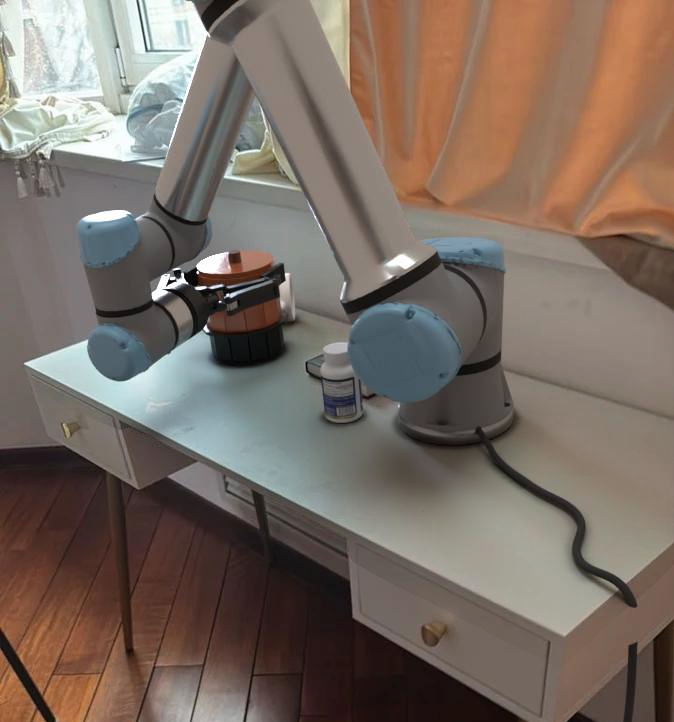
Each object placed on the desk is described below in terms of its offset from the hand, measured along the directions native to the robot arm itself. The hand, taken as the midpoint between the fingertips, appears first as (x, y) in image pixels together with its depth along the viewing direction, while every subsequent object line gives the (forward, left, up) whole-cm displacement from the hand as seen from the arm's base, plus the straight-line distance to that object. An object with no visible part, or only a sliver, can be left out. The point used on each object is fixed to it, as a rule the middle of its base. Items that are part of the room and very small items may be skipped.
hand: (244, 269), depth 135 cm
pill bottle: (-32, -1, -13) cm, 35 cm away
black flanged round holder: (-1, +2, -13) cm, 13 cm away
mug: (+9, -5, -13) cm, 16 cm away
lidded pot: (-1, +2, -7) cm, 7 cm away
